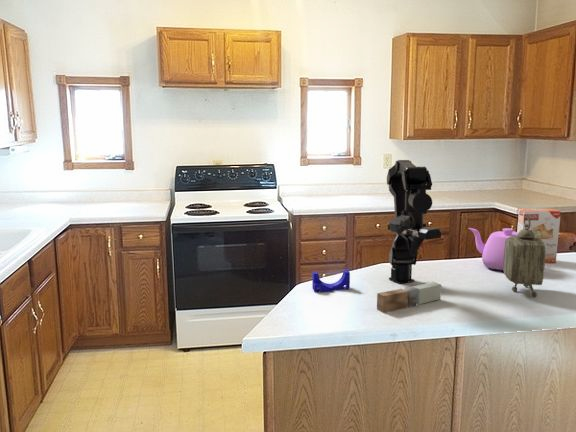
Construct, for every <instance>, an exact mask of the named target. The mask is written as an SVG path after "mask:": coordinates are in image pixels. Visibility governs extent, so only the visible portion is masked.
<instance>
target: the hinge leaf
mask: <svg viewBox="0 0 576 432" xmlns="http://www.w3.org/2000/svg"><path fill="white" fill-rule="evenodd" d="M403 290H406V291H408V299H415V298H417V305H421V304H425V303H430V302H434V301H438V300H441V297H442V294H441V293H442V284H441V283H438V282H435V281H432V282H428V283H423V284H417V285H413V286H407V287H404V288H403Z"/></svg>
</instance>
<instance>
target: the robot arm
mask: <svg viewBox="0 0 576 432" xmlns="http://www.w3.org/2000/svg"><path fill="white" fill-rule="evenodd" d="M386 175H387V176H386V185H387V186H388V191H389V193H390V194H391V196H392V197H393V204H394V218H393V219H391V220H390V221H388V223H387V230H388V231H390V232H392V233H395V238H394V240H393V241H392V243H391V247H390V251H389V254H388V262H389V264H390V265H391V268H390V277H388V280H390V281H393V282H395V283H397V284H406V283H412V282H415V279H413V278H412V275H413V274H412V271H413V268H412V267H413V265H414V266H416V264H417V258H418V254H419V249H420V247H421V245H422V244H423V242H424V240H434V239H441V238H442V230H441V229H440V228H437V227H434V226H427V223H424V215H426V214H427V212H428V211H429V210H430V209H431V208H432V206H433V199H432V197H431V196H430V194H428V193H427V191H431V190H432V187H433V182H432V176H431V173H430V171H429V170H428V169H427V167H426V166H416V165H415V164H413V162H412V161H411V160H409V159H398V160H395V164H394V165H393V166H392V167H390V168H389V169H388V171H387V174H386Z"/></svg>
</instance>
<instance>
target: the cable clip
mask: <svg viewBox="0 0 576 432" xmlns="http://www.w3.org/2000/svg"><path fill="white" fill-rule="evenodd" d="M311 272H312V273H311V274H312V276H311V277H312V284H311V285H312V290H313V292H314V293H333V291H344V290H347V291H348V290H350V288H351V286H350V285H351V282H350V281H351V280H350V279H351V272H350V270H348V269H344V270H343V271H342V275H341V277H340V278H339V279H338V280H337V281H335V282H331V283H326V282H324V281H323V280H321V279H320V276H319V273H318V271H317V270H315V271H311Z"/></svg>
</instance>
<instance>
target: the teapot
mask: <svg viewBox="0 0 576 432" xmlns="http://www.w3.org/2000/svg"><path fill="white" fill-rule="evenodd" d="M468 230H470V231H471V232H472V233H473V235H474V238H475V245H476V246H475V247H476V249H477V251H478V252H479V253H480V254H481V255H482V256H481V260H482V262H483V264H484V267H486V268H489V269H490V268H491V269H490V270H498V271H499V270H500V271H504V250H505V241H506V239H507V238H509V237H511V236H517V235H518V233H517V231H514V229H513V228H508V227H506V228H502V230H501V231H493V232H492V233H490V234H489V236H488V239H487V240H486V243H484V242H483V240H482V237H481V233H480V232H479V230H478V229H475V228H472V227H468Z"/></svg>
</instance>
